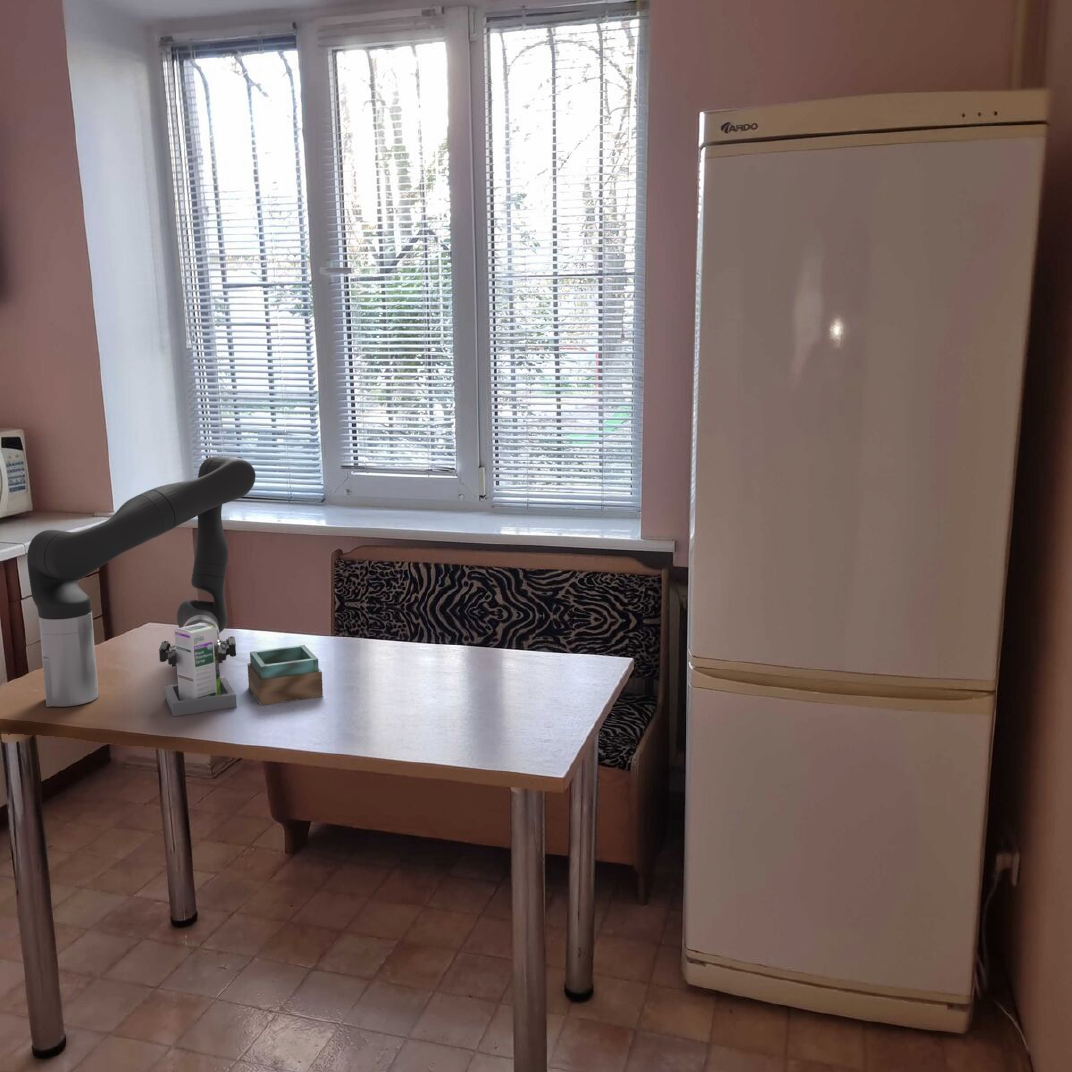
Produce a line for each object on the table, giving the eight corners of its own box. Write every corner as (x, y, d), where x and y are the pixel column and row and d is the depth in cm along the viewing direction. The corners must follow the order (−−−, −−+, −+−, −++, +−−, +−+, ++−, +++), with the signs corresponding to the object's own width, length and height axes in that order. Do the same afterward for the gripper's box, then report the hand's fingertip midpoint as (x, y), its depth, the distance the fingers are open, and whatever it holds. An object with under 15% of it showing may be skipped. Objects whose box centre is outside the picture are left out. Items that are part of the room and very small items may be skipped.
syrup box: (195, 706, 182) (191, 632, 180) (177, 700, 186) (173, 627, 183) (221, 698, 187) (218, 626, 184) (203, 692, 190) (199, 621, 188)
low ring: (173, 716, 179) (172, 703, 178) (165, 697, 189) (165, 685, 188) (236, 706, 184) (235, 694, 183) (226, 689, 194) (225, 677, 193)
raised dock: (260, 705, 185) (259, 667, 183) (248, 687, 195) (246, 651, 194) (322, 696, 190) (321, 659, 189) (307, 678, 201) (306, 643, 199)
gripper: (161, 621, 195) (155, 643, 180) (235, 616, 199) (235, 638, 184) (164, 657, 197) (158, 682, 181) (237, 651, 201) (237, 675, 186)
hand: (197, 659), depth 183 cm, fingers closed on syrup box, 8 cm apart
